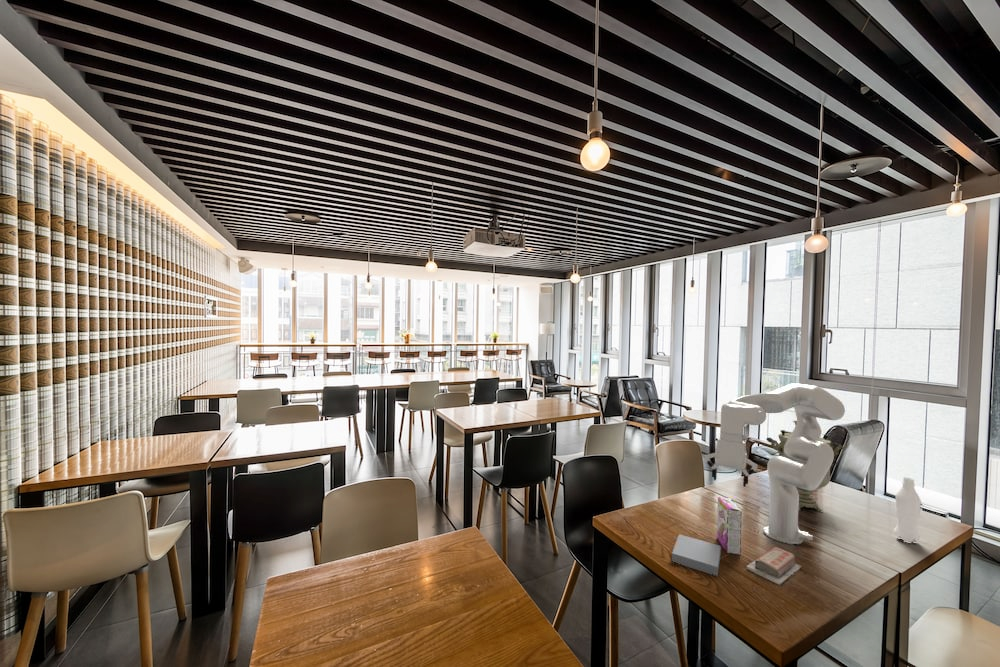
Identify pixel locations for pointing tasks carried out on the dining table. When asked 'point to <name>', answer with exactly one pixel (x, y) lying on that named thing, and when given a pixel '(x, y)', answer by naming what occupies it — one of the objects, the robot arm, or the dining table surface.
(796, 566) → the packaged product
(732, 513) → the candy bar box
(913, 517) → the water bottle
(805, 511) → the dining table surface
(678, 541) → the base plinth
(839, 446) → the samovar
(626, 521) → the dining table surface
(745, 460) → the robot arm
